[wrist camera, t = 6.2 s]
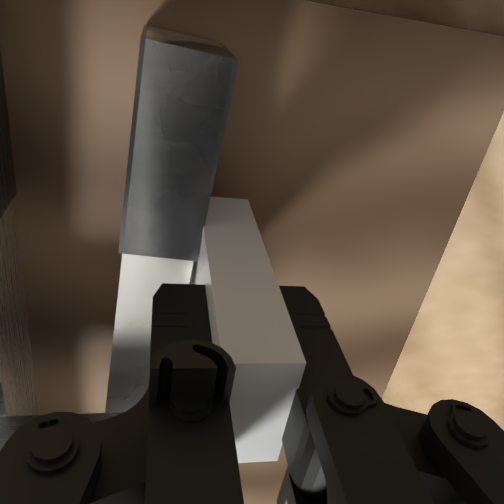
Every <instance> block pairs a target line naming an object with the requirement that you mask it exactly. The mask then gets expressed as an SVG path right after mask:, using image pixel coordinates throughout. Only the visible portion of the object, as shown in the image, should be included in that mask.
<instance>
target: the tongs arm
mask: <svg viewBox="0 0 504 504" xmlns="http://www.w3.org/2000/svg"><path fill="white" fill-rule="evenodd" d="M238 61H239V60H238V59H237V58H236V57H235V56H234V55H233V54H232V53H231V51H230V50H229V49H228V48H227V47H226V46H225V45H224V44H223V43H220V42H216V41H211V40H207V39H203V38H199V37H195V36H190V35H186V34H182V33H178V32H174V31H169V30H165V29H161V28H157V27H153V26H149V25H144V28H143V31H142V34H141V38H140V47H139V57H138V67H137V76H136V86H135V96H134V105H133V115H132V125H131V134H130V144H129V153H128V163H127V173H126V182H125V192H124V202H123V211H122V221H121V231H120V240H119V250H118V253H121V254H122V261H121V270H120V280H119V289H118V298H117V307H116V316H115V326H114V335H113V344H112V353H111V362H110V372H109V381H108V390H107V399H106V408H105V413H113V412H126V411H127V410H129V409H130V408H132V407H133V406H134V405H136V404H137V403H138V402H139V400H140V399H141V398H142V397H143V396H144V394H145V392H146V390H147V388H148V384H149V362H150V340H151V321H152V302H153V296H154V294H155V293H156V291H157V290H158V289H159V287H160V286H161V285H162V283H169V284H189V282H190V277H191V272H192V267H193V262H194V261H197V262H198V257H199V252H200V247H201V242H202V233H203V226H205V223H206V218H207V213H208V208H209V203H210V198H211V193H212V188H213V183H214V179H215V174H216V169H217V164H218V159H219V154H220V149H221V144H222V139H223V134H224V130H225V125H226V120H227V115H228V110H229V105H230V100H231V95H232V90H233V85H234V81H235V76H236V71H237V66H238Z"/></svg>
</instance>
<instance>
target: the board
mask: <svg viewBox="0 0 504 504" xmlns="http://www.w3.org/2000/svg"><path fill="white" fill-rule="evenodd" d="M144 25H149V26H153V27H157V28H161V29H165V30H169V31H174V32H178V33H182V34H186V35H190V36H195V37H199V38H203V39H207V40H211V41H216V42H220V43H223V44H224V45H225V46H226V47H227V48H228V49H229V50H230V51H231V53H232V54H233V55H234V56H235V57H236V58H237V59H238V60H239V61H238V66H237V71H236V76H235V81H234V85H233V90H232V95H231V100H230V105H229V110H228V115H227V120H226V125H225V130H224V134H223V139H222V144H221V149H220V154H219V159H218V164H217V169H216V174H215V179H214V183H213V188H212V193H211V197H223V198H236V199H248V201H249V204H250V206H251V209H252V212H253V215H254V218H255V221H256V223H257V226H258V229H259V232H260V235H261V237H262V240H263V243H264V246H265V249H266V251H267V254H268V257H269V260H270V263H271V265H272V268H273V271H274V274H275V277H276V279H277V282H278V285H279V286H305V287H306V288H307V289H308V290H309V291H310V292H311V293H312V294H313V295H314V296H315V297H316V298H317V299H318V300H319V302H320V304H321V306H322V308H323V311H324V313H325V317H327V319H328V321H329V324H330V326H331V330H333V332H334V334H335V337H336V339H337V341H338V343H339V345H340V347H341V350H342V352H343V354H344V356H345V358H346V360H347V363H348V365H349V367H350V369H351V371H352V373H353V375H354V376H356V377H358V378H360V379H363V380H364V381H365V382H366V383H368V384H369V385H370V386H372V387H373V388H374V389H375V390H376V392H377V393H378V394H379V396H380V397H381V399H382V396H383V394H384V391H385V389H386V387H387V384H388V382H389V380H390V377H391V375H392V373H393V370H394V368H395V366H396V363H397V361H398V359H399V356H400V354H401V351H402V349H403V347H404V344H405V342H406V340H407V337H408V335H409V333H410V330H411V328H412V326H413V323H414V321H415V319H416V316H417V314H418V311H419V309H420V307H421V304H422V302H423V300H424V297H425V295H426V293H427V290H428V288H429V286H430V283H431V281H432V279H433V276H434V274H435V271H436V269H437V267H438V264H439V262H440V260H441V257H442V255H443V253H444V250H445V248H446V246H447V243H448V241H449V239H450V236H451V234H452V232H453V229H454V227H455V224H456V222H457V220H458V217H459V215H460V213H461V210H462V208H463V206H464V203H465V201H466V199H467V196H468V194H469V192H470V189H471V187H472V184H473V182H474V180H475V177H476V175H477V173H478V170H479V168H480V166H481V163H482V161H483V159H484V156H485V154H486V152H487V149H488V147H489V144H490V142H491V140H492V137H493V135H494V133H495V130H496V128H497V126H498V123H499V121H500V119H501V116H502V114H503V112H504V36H500V35H495V34H489V33H484V32H478V31H473V30H467V29H461V28H456V27H450V26H445V25H439V24H434V23H428V22H423V21H417V20H412V19H406V18H400V17H395V16H389V15H384V14H378V13H373V12H367V11H362V10H356V9H351V8H345V7H339V6H334V5H328V4H323V3H317V2H312V1H306V0H0V47H1V56H2V65H3V74H4V83H5V91H6V100H7V109H8V118H9V127H10V136H11V145H12V153H13V162H14V171H15V180H16V189H17V194H16V195H15V197H14V204H15V213H16V221H17V230H18V238H19V247H20V255H21V264H22V273H23V281H24V290H25V298H26V307H27V315H28V324H29V332H30V341H31V349H32V358H33V366H34V375H35V383H36V392H37V400H38V409H39V415H45V414H49V413H52V412H73V413H76V414H85V413H105V408H106V399H107V390H108V381H109V372H110V362H111V353H112V344H113V335H114V326H115V316H116V307H117V298H118V289H119V280H120V270H121V261H122V254H121V253H118V250H119V240H120V231H121V221H122V211H123V202H124V192H125V182H126V173H127V163H128V153H129V144H130V134H131V125H132V115H133V105H134V96H135V86H136V76H137V67H138V57H139V47H140V38H141V34H142V31H143V28H144ZM189 284H192V283H191V277H190V282H189ZM238 465H239V472H240V479H241V486H242V492H243V499H244V504H277V497H278V494H279V491H280V488H281V485H282V482H283V478H284V475H285V472H286V469H287V466H288V464H287V460H286V456H285V452H284V447H283V444H282V447H281V450H280V454H279V457H278V461H268V462H249V463H238ZM285 504H287V499H286V502H285Z"/></svg>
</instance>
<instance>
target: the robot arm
mask: <svg viewBox="0 0 504 504" xmlns="http://www.w3.org/2000/svg"><path fill="white" fill-rule="evenodd" d="M191 283H192V284H169V283H162V285H161V286H160V287H159V289H158V290H157V291H156V293H155V294H154V296H153V302H152V321H151V340H150V362H149V384H148V388H147V390H146V392H145V394H144V396H143V397H142V398H141V399H140V400H139V402H138V403H137V404H136V405H134V406H133V407H132V408H130V409H129V410H127V411H126V412H124V413H121V414H119V415H116V416H114V417H111V418H108V419H105V420H101V421H98V422H95V423H92V422H91V421H90V420H89V419H88V418H87V417H85V416H82V415H79V414H76V413H73V412H52V413H49V414H45V415H42V416H38V417H35V418H34V419H32V420H31V421H29V422H27V423H26V424H24V425H22V426H21V427H19V428H18V429H17V430H16V432H15V433H14V434H13V435H12V436H11V437H10V438H9V439H8V440H7V442H6V443H5V445H4V446H3V448H2V449H1V451H0V504H244V499H243V492H242V486H241V479H240V472H239V465H238V463H249V462H268V461H278V457H279V454H280V450H281V447H282V444H283V447H284V452H285V456H286V460H287V464H288V466H287V469H286V472H285V475H284V478H283V482H282V485H281V488H280V491H279V494H278V497H277V504H285V502H286V499H287V504H504V431H503V430H502V429H501V428H500V427H499V426H498V425H497V424H496V423H495V422H494V421H493V420H492V419H491V418H490V417H488V416H487V415H486V414H485V413H484V412H482V411H481V410H479V409H477V408H475V407H474V406H472V405H470V404H468V403H465V402H461V401H457V400H453V399H451V400H440V401H439V402H437V403H435V404H434V405H432V407H431V409H430V411H429V413H428V415H426V414H422V413H418V412H414V411H410V410H406V409H402V408H398V407H395V406H392V405H389V404H386V403H384V402H383V400H382V399H381V397H380V396H379V394H378V393H377V392H376V390H375V389H374V388H373V387H372V386H370V385H369V384H368V383H366V382H365V381H364V380H363V379H360V378H358V377H356V376H354V375H353V373H352V371H351V369H350V367H349V365H348V363H347V360H346V358H345V356H344V354H343V352H342V350H341V347H340V345H339V343H338V341H337V339H336V337H335V334H334V332H333V330H331V326H330V324H329V321H328V319H327V317H325V313H324V311H323V308H322V306H321V304H320V302H319V300H318V299H317V298H316V297H315V296H314V295H313V294H312V293H311V292H310V291H309V290H308V289H307V288H306V287H305V286H279V285H278V282H277V279H276V277H275V274H274V271H273V268H272V265H271V263H270V260H269V257H268V254H267V251H266V249H265V246H264V243H263V240H262V237H261V235H260V232H259V229H258V226H257V223H256V221H255V218H254V215H253V212H252V209H251V206H250V204H249V201H248V199H236V198H223V197H211V198H210V203H209V208H208V213H207V218H206V223H205V226H203V233H202V242H201V247H200V252H199V257H198V262H197V261H194V262H193V267H192V272H191Z"/></svg>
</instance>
